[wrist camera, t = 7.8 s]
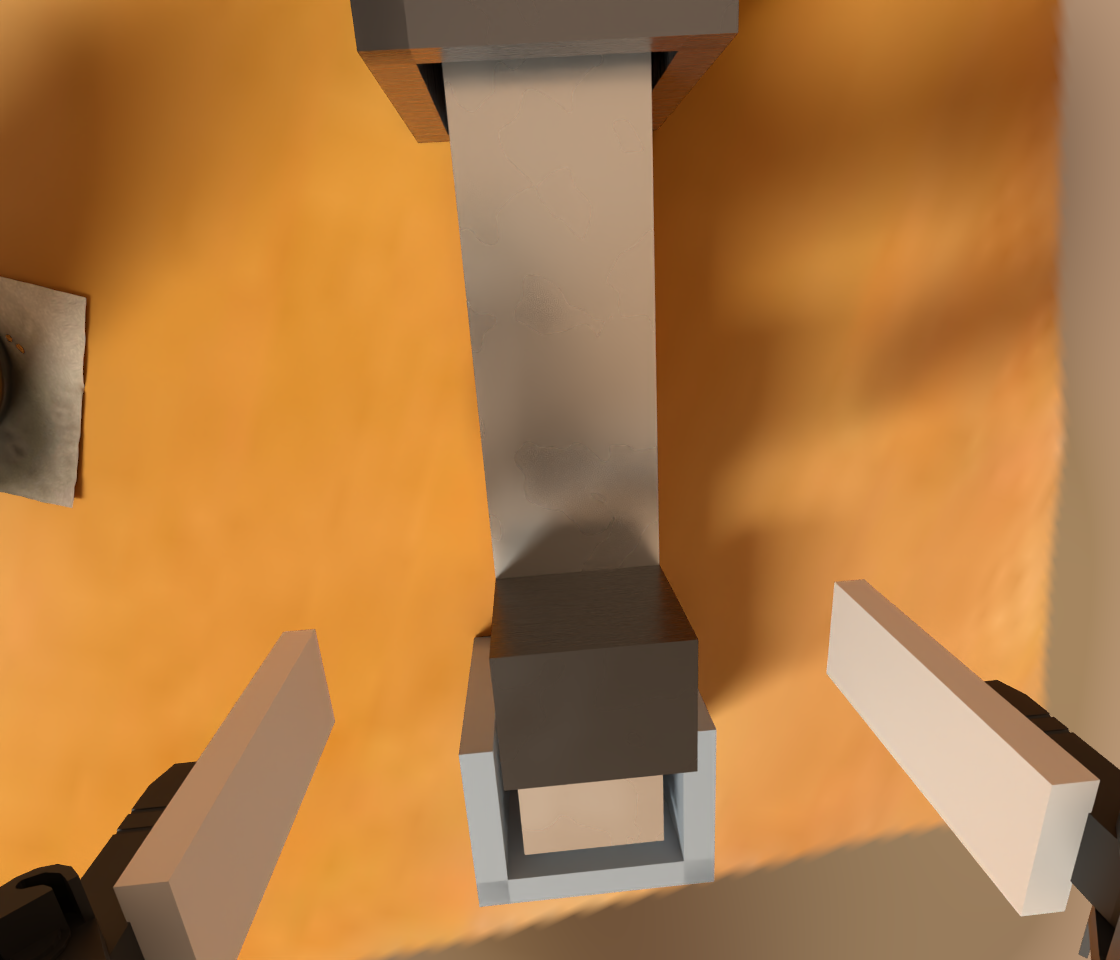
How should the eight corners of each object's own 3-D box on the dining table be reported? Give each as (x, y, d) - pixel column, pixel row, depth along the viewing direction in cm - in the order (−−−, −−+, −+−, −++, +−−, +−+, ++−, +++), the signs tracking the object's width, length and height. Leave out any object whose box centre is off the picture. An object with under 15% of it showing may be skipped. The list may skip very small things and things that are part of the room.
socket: (474, 637, 24) (458, 754, 18) (667, 620, 24) (716, 729, 18) (489, 761, 26) (479, 907, 20) (668, 744, 26) (714, 881, 20)
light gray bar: (462, 121, 18) (410, -36, 9) (616, 112, 18) (701, -49, 9) (523, 744, 24) (525, 983, 16) (635, 733, 24) (697, 964, 16)
